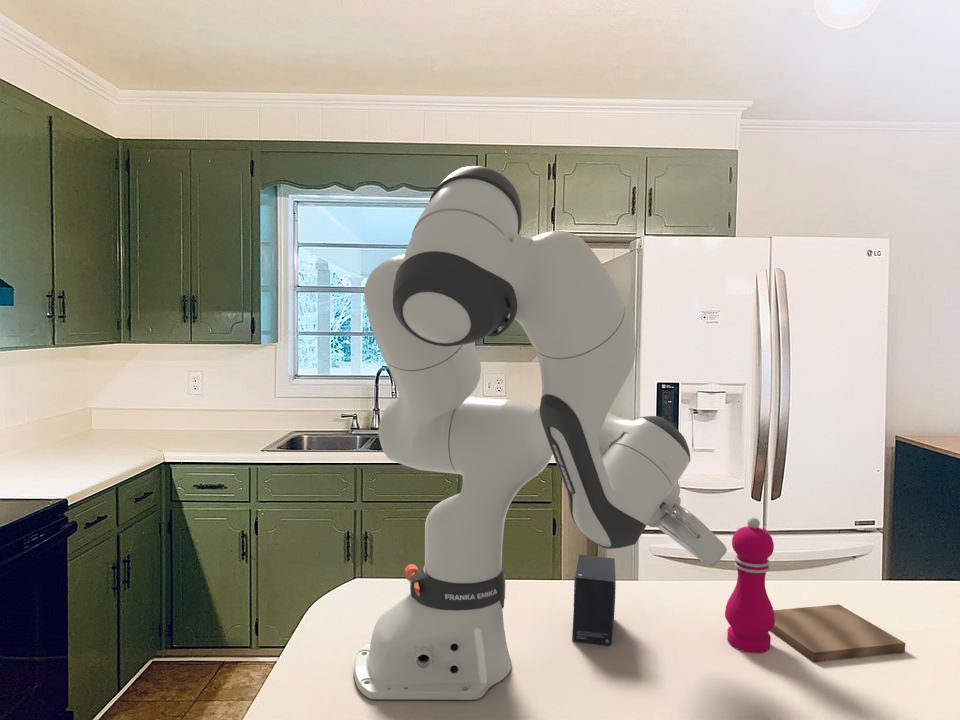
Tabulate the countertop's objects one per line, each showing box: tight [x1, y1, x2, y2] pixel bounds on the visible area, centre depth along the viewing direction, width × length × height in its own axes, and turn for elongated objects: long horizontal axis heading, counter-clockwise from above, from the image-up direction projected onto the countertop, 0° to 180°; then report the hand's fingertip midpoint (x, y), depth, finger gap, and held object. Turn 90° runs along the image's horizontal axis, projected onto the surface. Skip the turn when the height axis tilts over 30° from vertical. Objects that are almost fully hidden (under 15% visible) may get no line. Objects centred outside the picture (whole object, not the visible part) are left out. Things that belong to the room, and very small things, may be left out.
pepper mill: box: [724, 517, 775, 654], centre depth 105 cm, size 7×7×20 cm
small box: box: [571, 554, 617, 646], centre depth 110 cm, size 11×6×10 cm, turn 168°
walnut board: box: [769, 603, 906, 663], centre depth 109 cm, size 16×14×2 cm
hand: (708, 557), depth 103 cm, fingers closed
